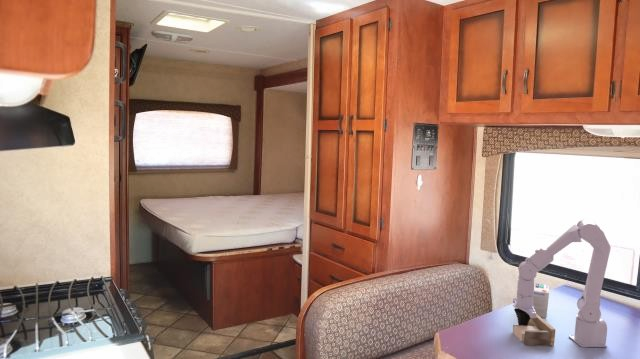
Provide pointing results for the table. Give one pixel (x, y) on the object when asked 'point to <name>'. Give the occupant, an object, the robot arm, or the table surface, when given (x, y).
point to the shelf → (539, 333)
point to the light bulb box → (541, 299)
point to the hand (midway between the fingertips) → (522, 328)
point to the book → (523, 330)
